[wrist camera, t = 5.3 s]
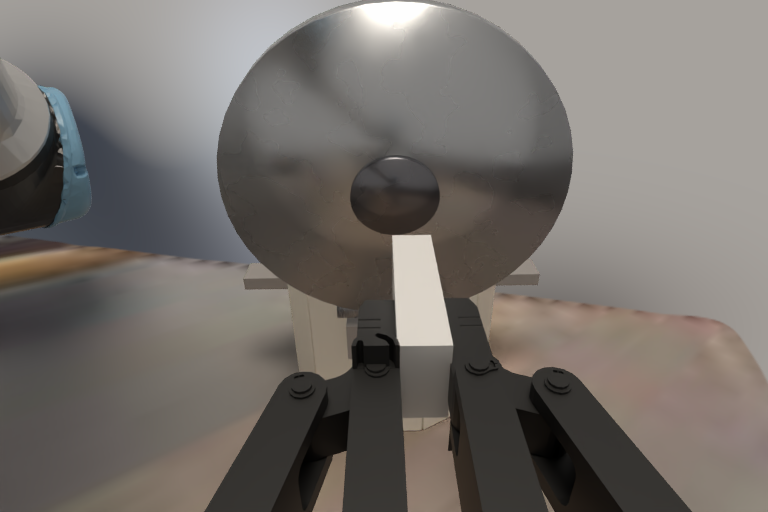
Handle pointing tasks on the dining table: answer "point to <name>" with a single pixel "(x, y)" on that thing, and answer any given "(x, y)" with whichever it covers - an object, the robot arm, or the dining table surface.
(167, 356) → the dining table surface
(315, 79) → the lid
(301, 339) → the stockpot
